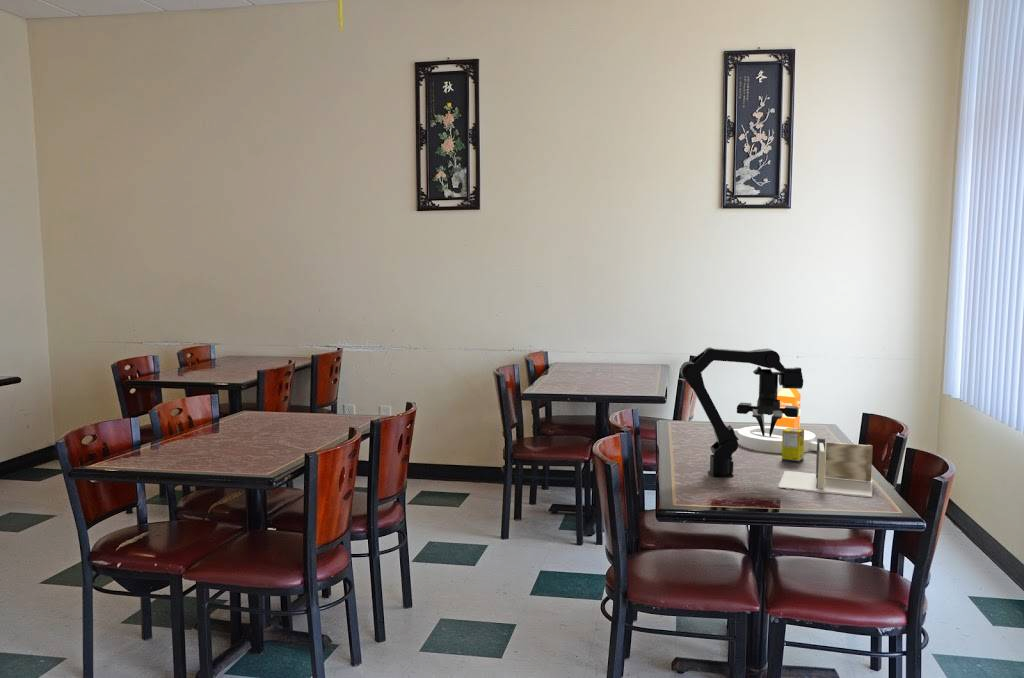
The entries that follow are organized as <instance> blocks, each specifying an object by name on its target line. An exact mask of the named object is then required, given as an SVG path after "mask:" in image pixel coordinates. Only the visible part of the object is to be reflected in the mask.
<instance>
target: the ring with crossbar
mask: <svg viewBox="0 0 1024 678" xmlns="http://www.w3.org/2000/svg"><path fill="white" fill-rule="evenodd" d="M770 426H771V425H764V427H765V434H764V436H763V435H762V432H761V429H760V426H759V425H756V426H755V425H753V426H746V427H741V428H733V430H734V433H735V435H736V436H737V437H738V439H739V440H737V441H738V446H740V445H741V447H742V446H743V447H742V448H745V447H746V448H745V449H748V448H749V449H748V450H752V449H753V451H757V452H764V453H774V454H777V453H778V454H782V433H783V430H784V429H786V428H790V427H780V426H775V427H774V429H773V432H772V435H771V437H769V432H770ZM795 429H797V428H795ZM812 451H815V452H817V436H816V434H815V433H814V432H811V431H809V430H807V429H804V453H807V452H812Z"/></svg>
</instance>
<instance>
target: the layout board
mask: <svg viewBox="0 0 1024 678" xmlns="http://www.w3.org/2000/svg"><path fill="white" fill-rule="evenodd" d="M873 481H874V480H873V479H872V478H871V482H867V481H859V480H849V479H838V478H828V477H825V482H824V488H818V478H816V473H812V472H811V473H810V472H802V471H801V472H800V471H790V470H784V472H783V475H782V477H781V479H780V481H779V484H778V485H777V488H778V487H779V488H778V489H781V488H786V489H785V490H791V489H794V491H802V492H811V493H822V494H831V495H841V496H849V497H850V496H851V497H862V498H871V499H872V498H873Z"/></svg>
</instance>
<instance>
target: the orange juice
mask: <svg viewBox="0 0 1024 678" xmlns="http://www.w3.org/2000/svg"><path fill="white" fill-rule="evenodd" d="M800 393H801V392H800V391H799V389H783V387H781V389H780V390H779V391H778V393H777V400H780V408H785V407H786V405H787V406H797V407H798V408H799V415H798V417H786V415H785V414H782V415H783V417H782V418H781V419H778V420H777V422H776V424H775V426H780V427H790V428H797V429H801V428H800V427H801V425H800V422H801V421H800V420H801V394H800Z"/></svg>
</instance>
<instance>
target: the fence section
mask: <svg viewBox="0 0 1024 678" xmlns="http://www.w3.org/2000/svg"><path fill="white" fill-rule="evenodd" d="M816 442H817V451H816V460H815V461H816V462H815V463H816V464H815V465H816V467H815V474H816V478H818V464H819V443H823V444H824V451H826V455H825V477H828V478H838V479H849V480H859V481H867V482H871V479H872V470H873V469H872V466H873V465H872V464H873V447H874V445H872V444H857V443H845V442H835V441H834V442H833V441H832V442H831V441H826V439H825V438H823V437H822V438H821V437H816Z"/></svg>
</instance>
